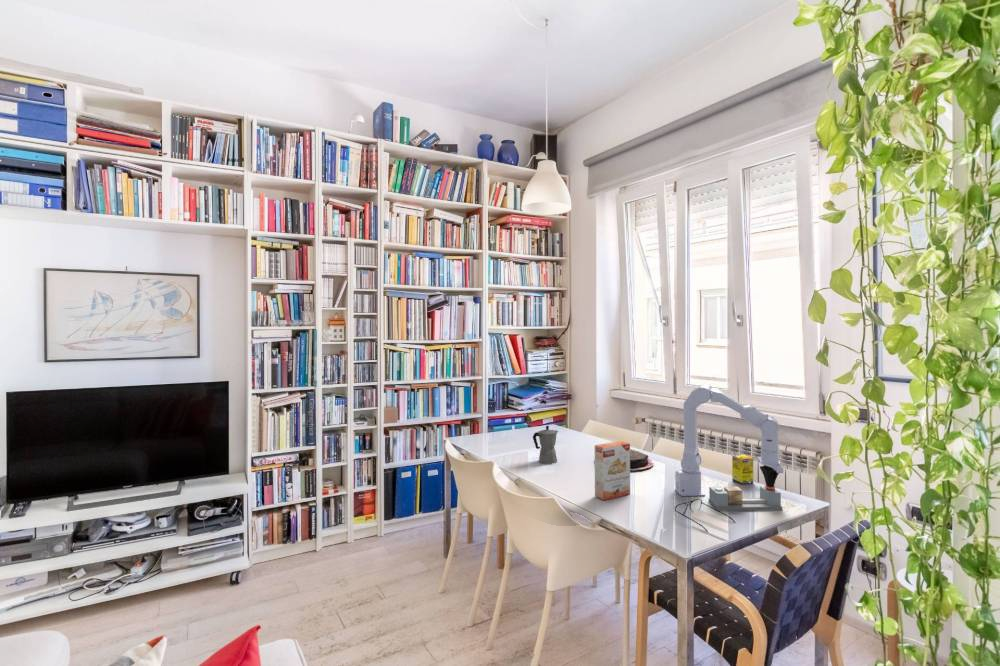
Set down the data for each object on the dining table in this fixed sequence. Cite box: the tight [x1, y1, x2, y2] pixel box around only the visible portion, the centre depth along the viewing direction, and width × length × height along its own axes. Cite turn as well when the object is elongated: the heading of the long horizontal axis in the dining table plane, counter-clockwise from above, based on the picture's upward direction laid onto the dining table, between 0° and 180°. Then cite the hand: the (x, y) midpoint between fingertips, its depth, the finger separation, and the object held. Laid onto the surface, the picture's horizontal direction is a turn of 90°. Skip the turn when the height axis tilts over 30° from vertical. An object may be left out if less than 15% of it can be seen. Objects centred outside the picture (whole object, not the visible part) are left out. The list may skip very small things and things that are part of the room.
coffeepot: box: [532, 425, 559, 465], centre depth 242 cm, size 15×9×18 cm, turn 121°
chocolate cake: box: [630, 448, 654, 472], centre depth 237 cm, size 28×28×7 cm
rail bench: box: [707, 485, 783, 512], centre depth 181 cm, size 23×9×6 cm, turn 88°
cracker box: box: [594, 440, 631, 501], centre depth 194 cm, size 14×6×21 cm, turn 118°
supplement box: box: [731, 454, 754, 486], centre depth 206 cm, size 6×6×11 cm
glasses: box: [674, 498, 737, 533], centre depth 169 cm, size 14×15×5 cm
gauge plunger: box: [764, 484, 776, 491], centre depth 180 cm, size 3×3×4 cm
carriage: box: [723, 486, 743, 504], centre depth 181 cm, size 5×4×5 cm
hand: (770, 486), depth 180 cm, fingers closed, pressing on gauge plunger
